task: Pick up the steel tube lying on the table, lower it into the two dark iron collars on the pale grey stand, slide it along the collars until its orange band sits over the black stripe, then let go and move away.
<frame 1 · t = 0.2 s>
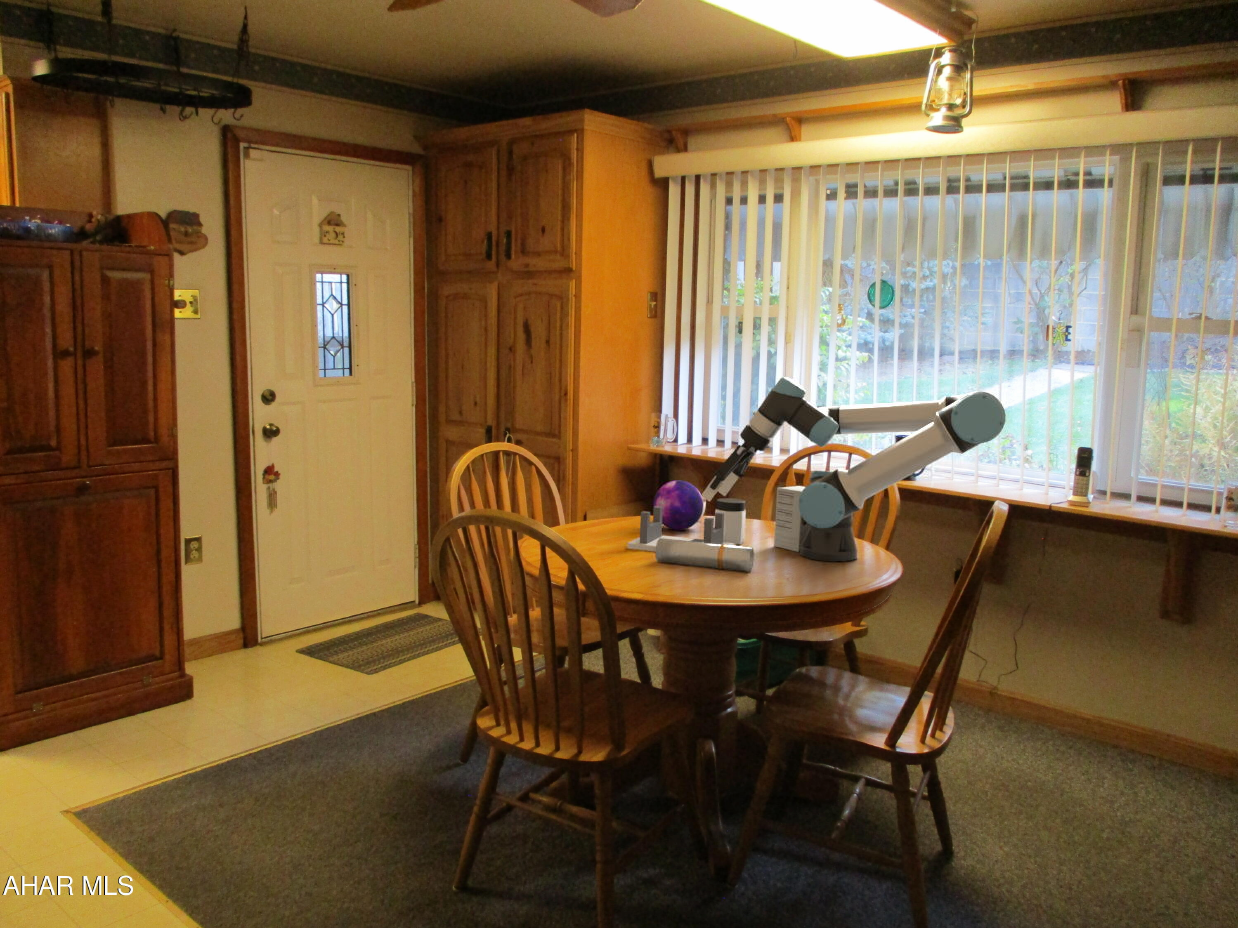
hand: (713, 495, 254), 16 cm above the table, tool tilted 35°, fingers open, 13 cm apart
jar: (729, 542, 274), on the table
decorative orb: (677, 530, 291), on the table
steel tube: (704, 554, 241), point 3 cm above the table
collar stand: (681, 548, 263), on the table
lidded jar: (688, 521, 307), on the table
supplement box: (796, 548, 269), on the table
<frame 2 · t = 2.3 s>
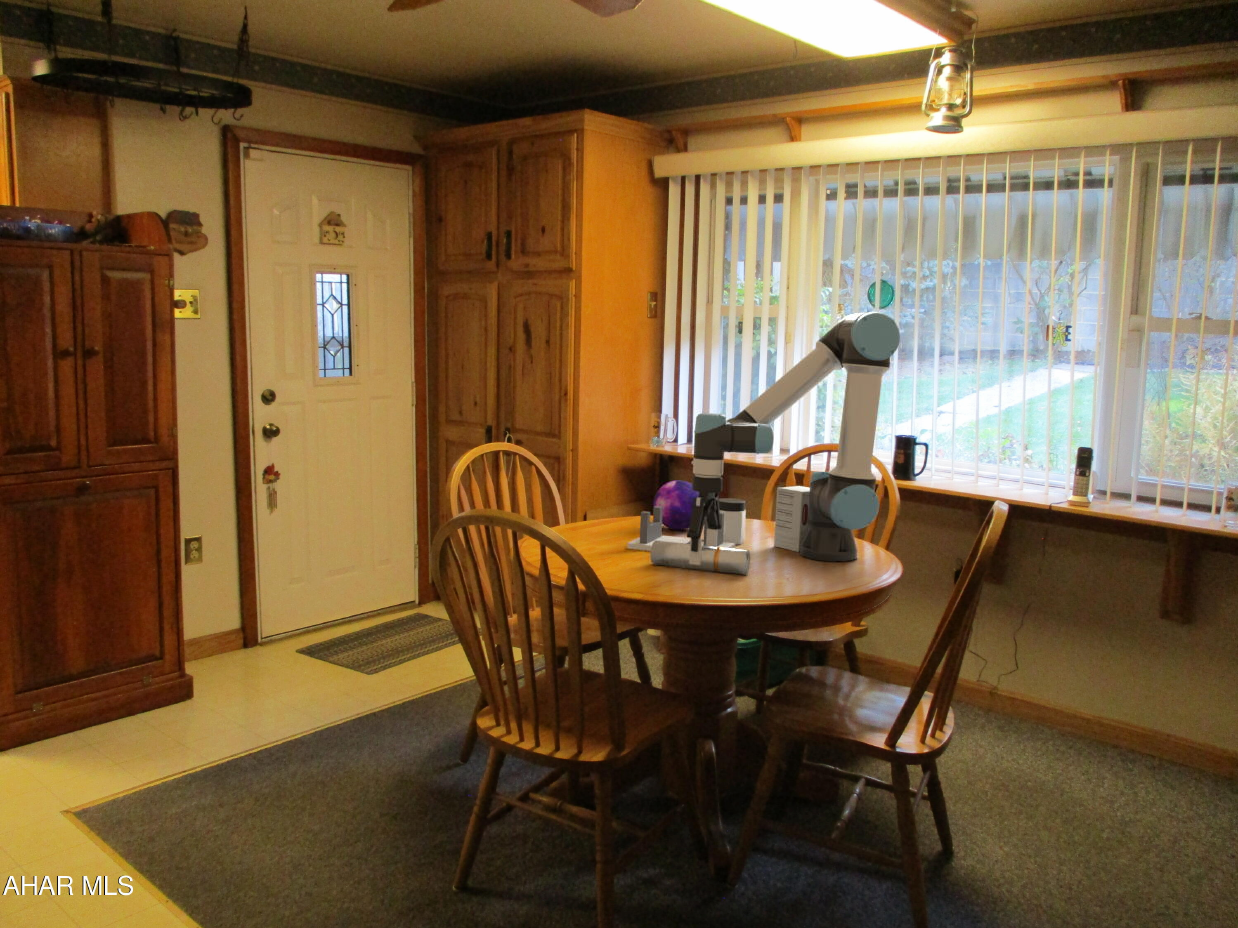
hand: (703, 559, 242), 2 cm above the table, tool pointing down, fingers open, 13 cm apart
steel tube: (700, 557, 238), point 3 cm above the table, tilted 69°, touching gripper
everything else where it was.
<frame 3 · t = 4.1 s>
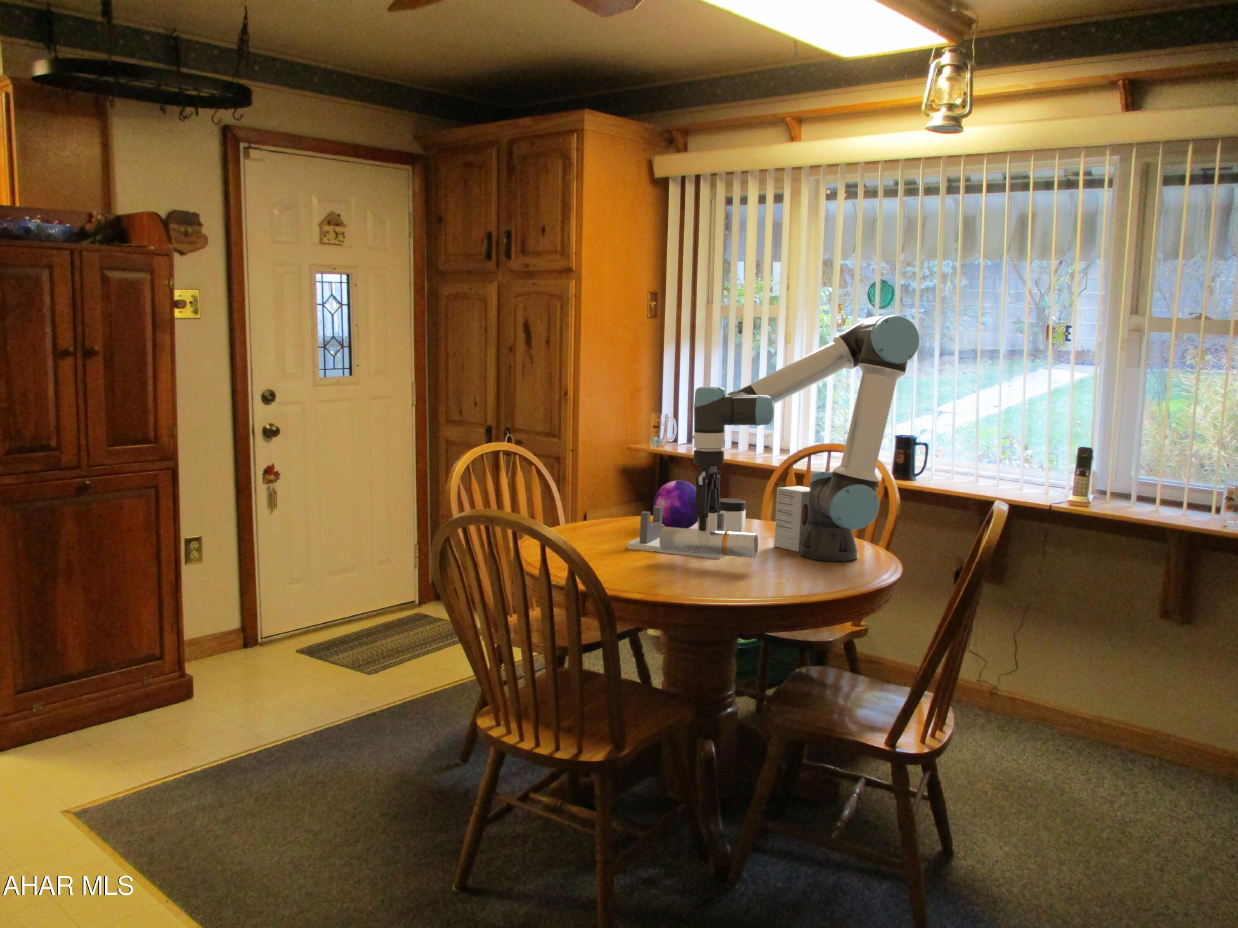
hand: (707, 540, 241), 7 cm above the table, tool pointing down, fingers closed on steel tube, 6 cm apart
steel tube: (708, 542, 241), point 6 cm above the table, tilted 21°, touching gripper
everything else where it was.
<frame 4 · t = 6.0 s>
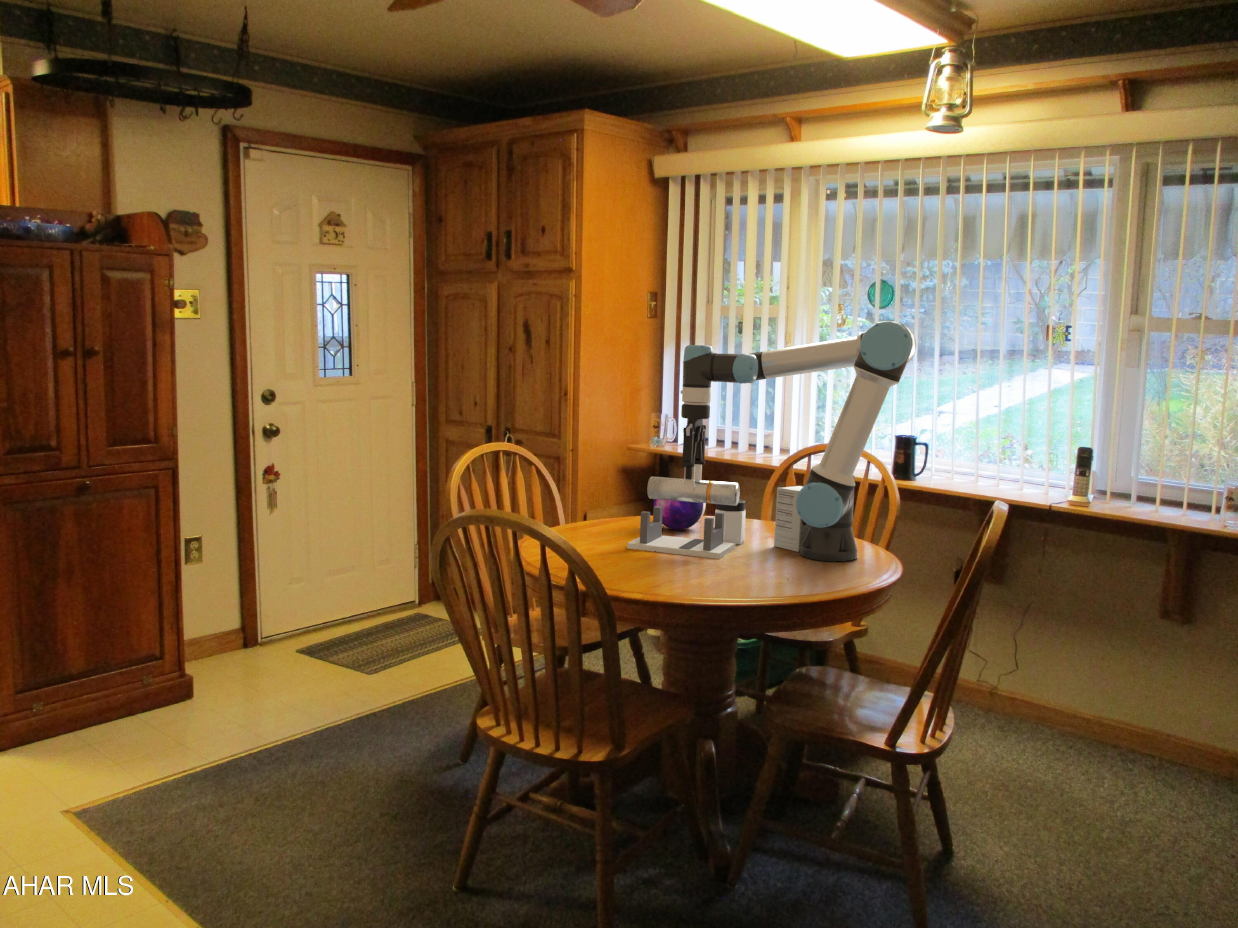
hand: (692, 489, 257), 17 cm above the table, tool pointing down, fingers closed on steel tube, 6 cm apart
steel tube: (693, 490, 257), point 17 cm above the table, tilted 20°, touching gripper
everything else where it was.
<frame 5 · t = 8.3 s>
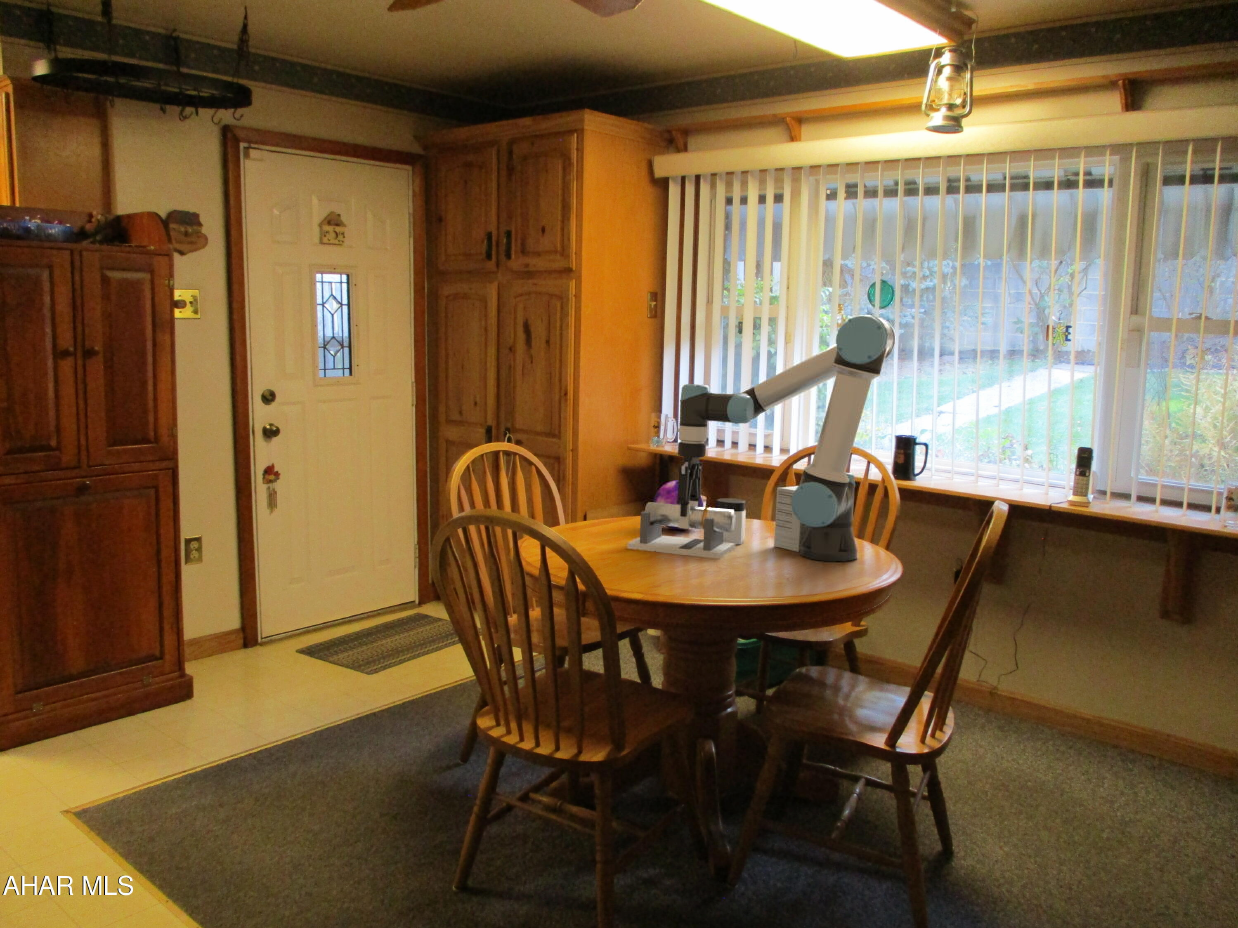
hand: (687, 526, 261), 6 cm above the table, tool pointing down, fingers closed on steel tube, 6 cm apart
steel tube: (689, 516, 261), point 9 cm above the table, tilted 26°, touching collar stand, gripper
everything else where it was.
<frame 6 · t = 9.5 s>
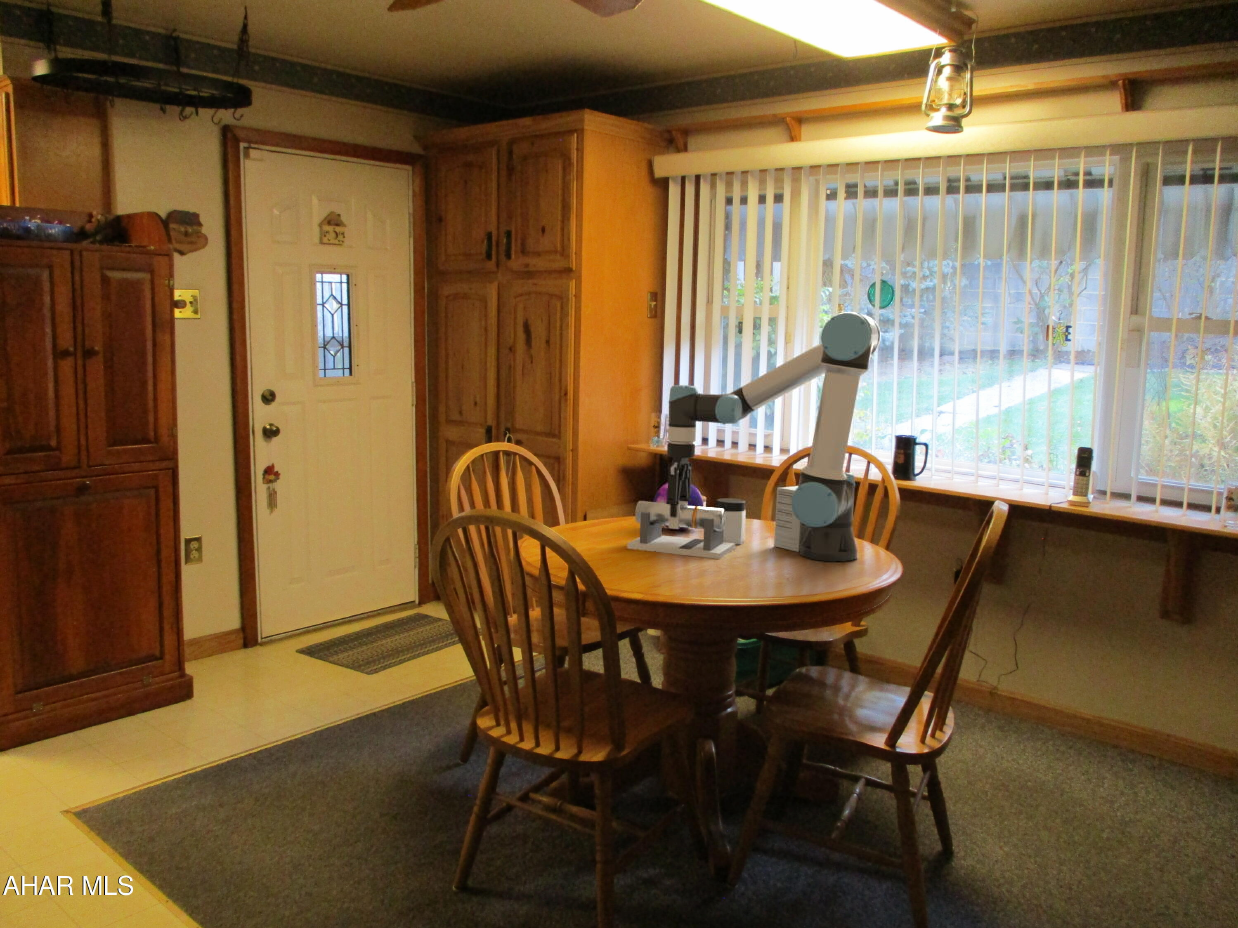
hand: (677, 526, 263), 6 cm above the table, tool pointing down, fingers closed on steel tube, 6 cm apart
steel tube: (680, 515, 262), point 9 cm above the table, tilted 24°, touching gripper
everything else where it was.
when the fingers open (6 cm above the table, at t = 10.7 s): steel tube stays where it is, resting on collar stand.
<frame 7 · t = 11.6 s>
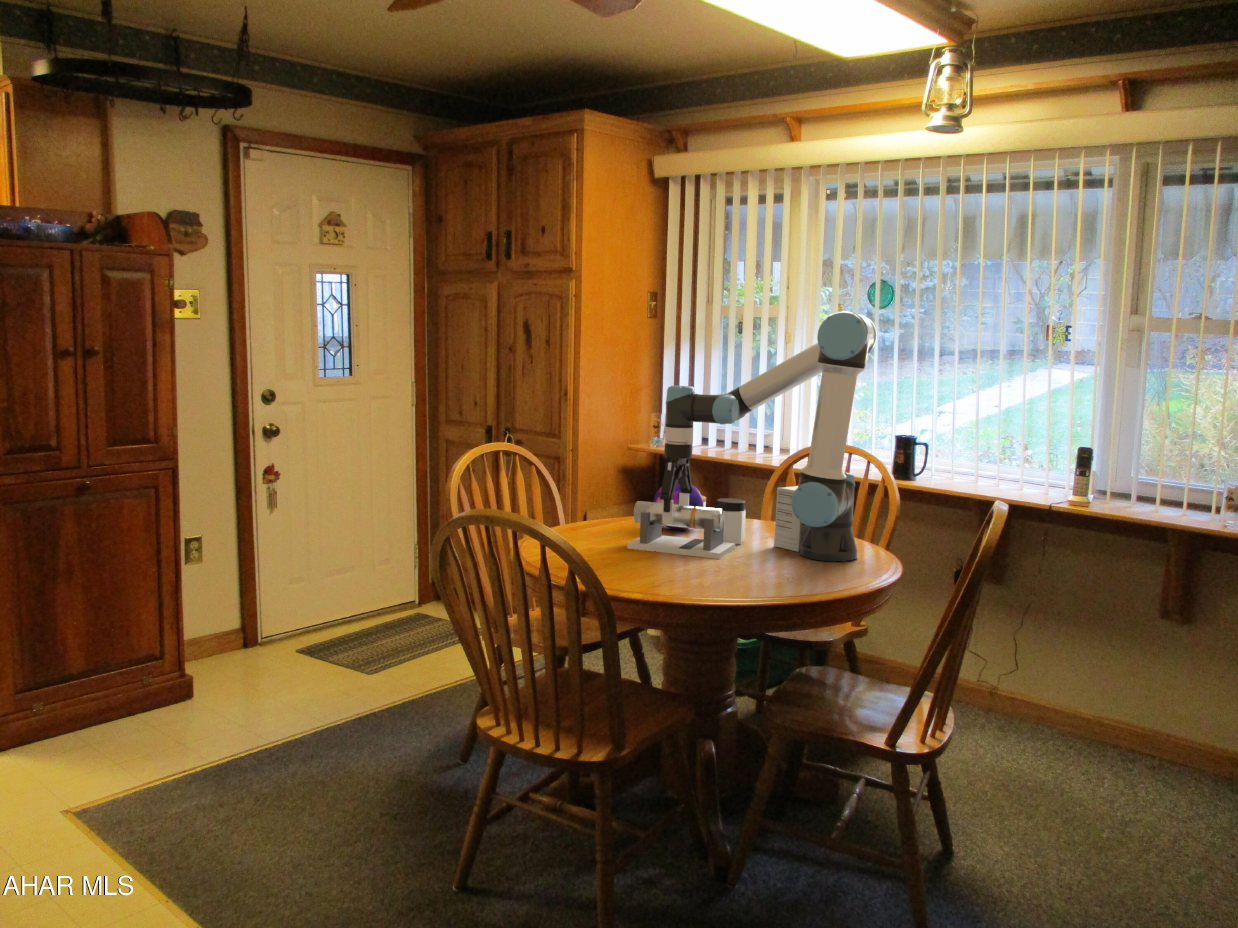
hand: (675, 520, 263), 8 cm above the table, tool pointing down, fingers open, 13 cm apart
steel tube: (678, 515, 262), point 9 cm above the table, tilted 26°, touching collar stand
everything else where it was.
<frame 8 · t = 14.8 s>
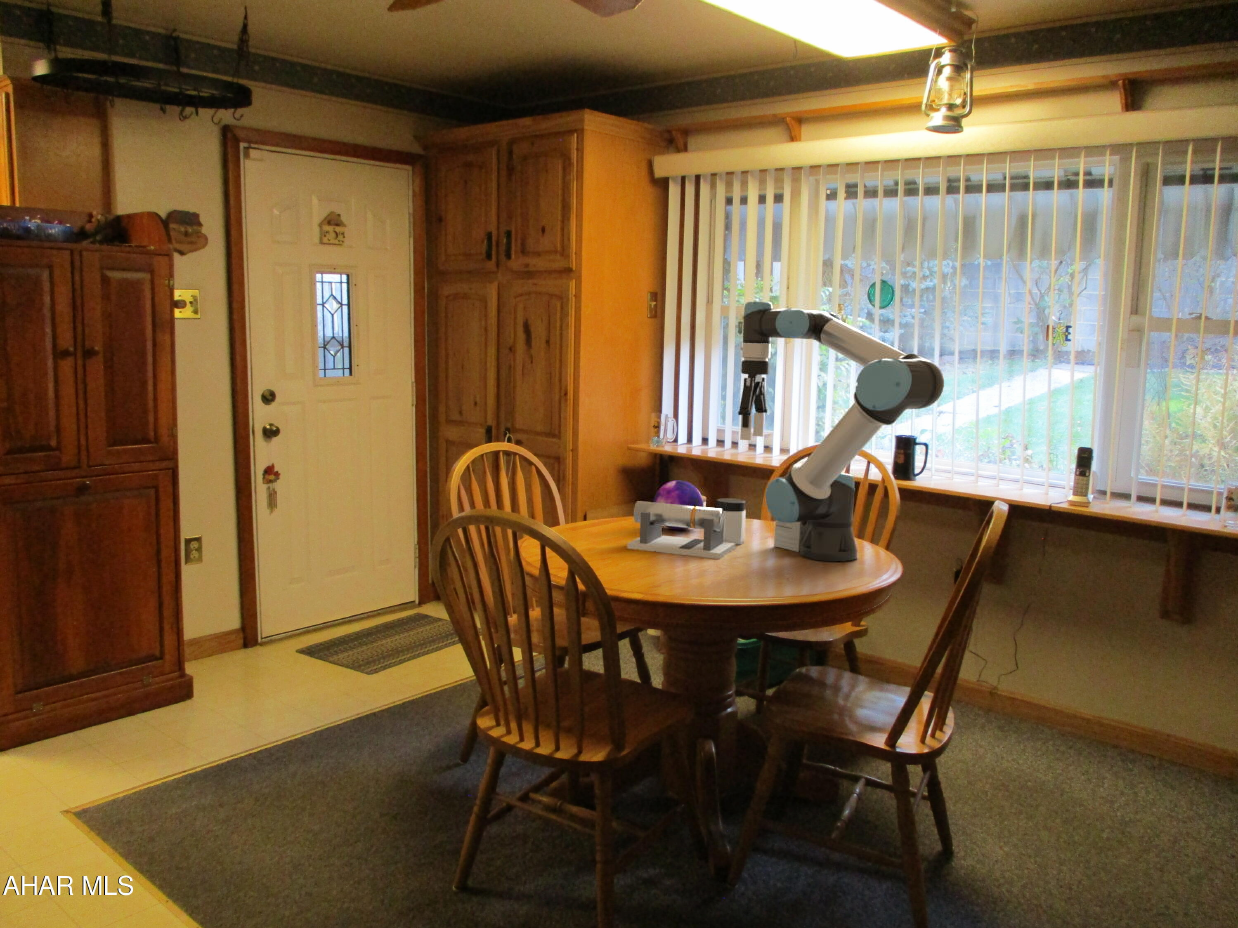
hand: (751, 438, 262), 31 cm above the table, tool pointing down, fingers open, 13 cm apart
nothing on the table moved.
at the end: steel tube 0.8 cm from the target spot on the collar stand, point 9.0 cm above the collar stand's base; steel tube touching collar stand; the gripper is holding nothing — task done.
